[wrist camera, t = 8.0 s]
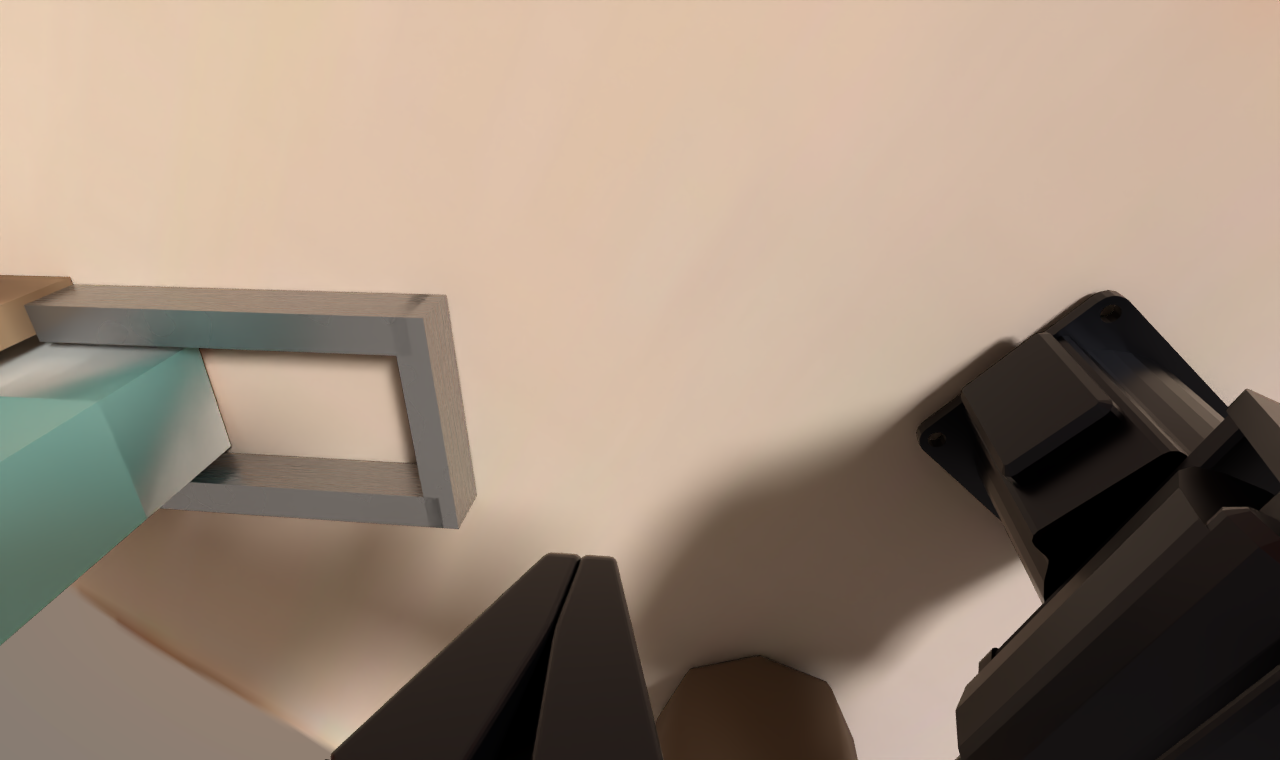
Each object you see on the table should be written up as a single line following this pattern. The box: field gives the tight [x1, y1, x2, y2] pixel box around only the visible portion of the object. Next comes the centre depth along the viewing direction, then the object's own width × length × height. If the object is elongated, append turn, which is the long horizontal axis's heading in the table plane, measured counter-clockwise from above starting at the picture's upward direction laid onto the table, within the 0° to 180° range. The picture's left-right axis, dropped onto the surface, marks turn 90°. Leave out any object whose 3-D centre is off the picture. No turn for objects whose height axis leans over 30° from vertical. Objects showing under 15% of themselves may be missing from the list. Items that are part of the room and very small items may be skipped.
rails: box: [24, 284, 477, 529], centre depth 23 cm, size 12×7×2 cm, turn 91°
